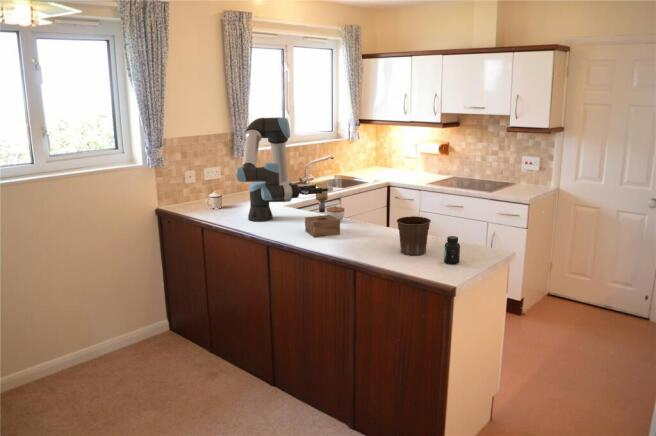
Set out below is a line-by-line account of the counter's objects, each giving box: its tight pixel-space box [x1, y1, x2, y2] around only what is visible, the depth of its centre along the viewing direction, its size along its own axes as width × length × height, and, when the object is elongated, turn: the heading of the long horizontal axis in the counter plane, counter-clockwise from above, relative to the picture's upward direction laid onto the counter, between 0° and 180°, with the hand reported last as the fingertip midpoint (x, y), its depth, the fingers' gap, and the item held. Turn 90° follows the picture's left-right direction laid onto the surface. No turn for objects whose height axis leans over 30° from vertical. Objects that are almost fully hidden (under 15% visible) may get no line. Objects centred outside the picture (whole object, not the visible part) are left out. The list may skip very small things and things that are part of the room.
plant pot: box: [396, 216, 432, 257], centre depth 260 cm, size 16×16×16 cm
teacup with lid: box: [205, 190, 223, 209], centre depth 365 cm, size 12×9×12 cm
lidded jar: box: [326, 205, 345, 223], centre depth 325 cm, size 11×11×9 cm
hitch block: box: [304, 214, 341, 238], centre depth 299 cm, size 15×15×8 cm
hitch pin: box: [315, 181, 329, 213], centre depth 295 cm, size 6×6×16 cm
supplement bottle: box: [443, 235, 461, 266], centre depth 245 cm, size 7×7×12 cm
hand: (330, 187), depth 296 cm, fingers closed on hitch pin, 6 cm apart
